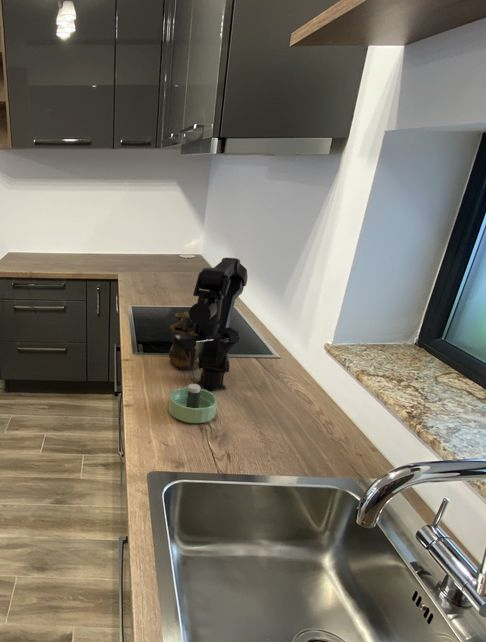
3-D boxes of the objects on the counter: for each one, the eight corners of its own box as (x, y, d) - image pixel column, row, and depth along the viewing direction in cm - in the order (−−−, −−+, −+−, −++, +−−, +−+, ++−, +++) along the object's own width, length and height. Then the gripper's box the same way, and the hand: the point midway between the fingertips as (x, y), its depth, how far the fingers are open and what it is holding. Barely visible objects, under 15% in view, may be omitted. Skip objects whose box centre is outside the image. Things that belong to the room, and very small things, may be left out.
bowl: (199, 399, 136) (201, 384, 134) (224, 420, 125) (226, 404, 123) (160, 406, 132) (161, 391, 130) (183, 428, 121) (184, 412, 119)
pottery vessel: (196, 381, 147) (201, 324, 139) (163, 377, 150) (167, 321, 142) (201, 353, 169) (207, 303, 161) (173, 350, 172) (177, 300, 164)
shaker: (194, 407, 130) (196, 382, 127) (200, 413, 127) (203, 388, 124) (183, 409, 129) (185, 384, 126) (189, 415, 126) (192, 390, 123)
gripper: (221, 303, 133) (216, 351, 139) (166, 309, 127) (163, 359, 134) (244, 314, 123) (237, 365, 130) (185, 321, 118) (181, 374, 124)
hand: (204, 365), depth 130 cm, fingers open, 9 cm apart
